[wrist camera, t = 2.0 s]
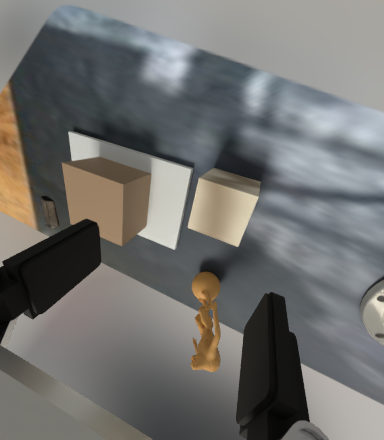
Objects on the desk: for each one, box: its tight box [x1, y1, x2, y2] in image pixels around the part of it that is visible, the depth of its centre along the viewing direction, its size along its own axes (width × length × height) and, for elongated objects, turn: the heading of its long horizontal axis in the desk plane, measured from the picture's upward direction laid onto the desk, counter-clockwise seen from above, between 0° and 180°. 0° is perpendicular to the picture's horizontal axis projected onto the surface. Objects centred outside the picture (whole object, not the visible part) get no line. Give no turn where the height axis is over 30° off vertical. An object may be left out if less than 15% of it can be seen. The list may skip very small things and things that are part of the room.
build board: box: [62, 132, 194, 250], centre depth 24 cm, size 18×12×6 cm, turn 78°
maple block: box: [188, 168, 261, 247], centre depth 20 cm, size 5×5×5 cm
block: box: [41, 197, 59, 228], centre depth 35 cm, size 4×6×2 cm, turn 170°
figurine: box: [191, 272, 220, 372], centre depth 23 cm, size 8×6×12 cm
